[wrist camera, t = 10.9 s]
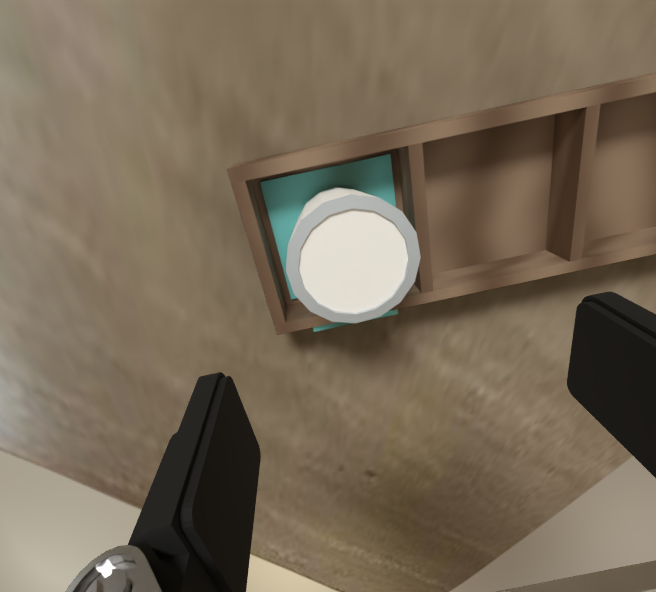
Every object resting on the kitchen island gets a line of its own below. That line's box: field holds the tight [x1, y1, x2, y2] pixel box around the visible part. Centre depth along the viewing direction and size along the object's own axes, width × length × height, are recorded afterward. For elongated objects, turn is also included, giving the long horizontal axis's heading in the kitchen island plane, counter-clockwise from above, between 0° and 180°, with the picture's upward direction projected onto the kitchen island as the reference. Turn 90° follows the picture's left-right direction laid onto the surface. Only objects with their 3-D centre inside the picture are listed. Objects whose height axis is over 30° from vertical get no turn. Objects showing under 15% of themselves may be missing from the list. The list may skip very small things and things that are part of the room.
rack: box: [227, 73, 656, 335], centre depth 24 cm, size 31×12×3 cm, turn 101°
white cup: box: [286, 187, 421, 323], centre depth 21 cm, size 7×7×7 cm
